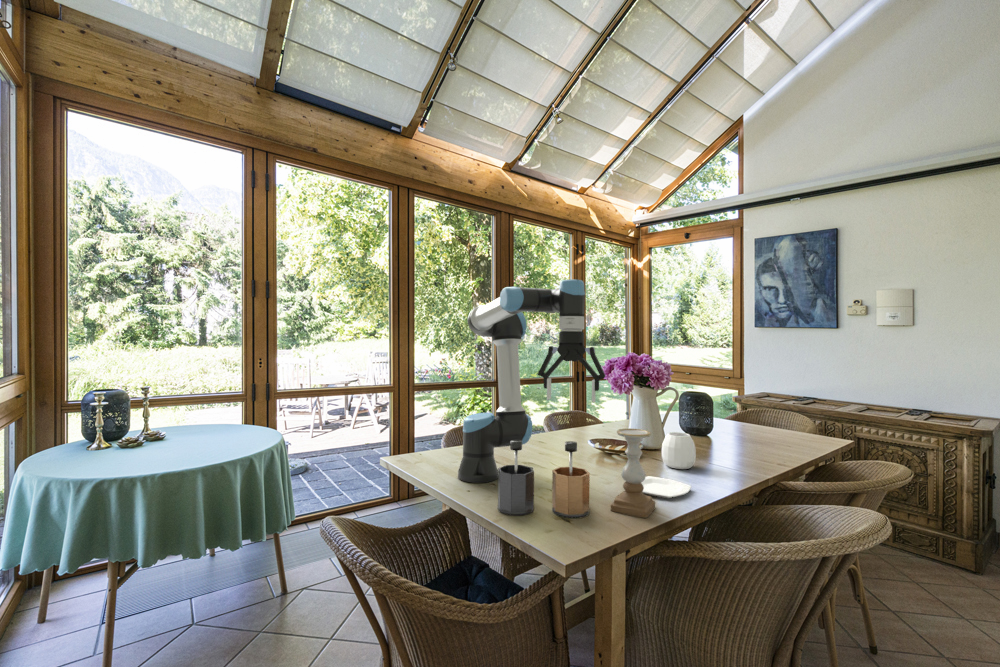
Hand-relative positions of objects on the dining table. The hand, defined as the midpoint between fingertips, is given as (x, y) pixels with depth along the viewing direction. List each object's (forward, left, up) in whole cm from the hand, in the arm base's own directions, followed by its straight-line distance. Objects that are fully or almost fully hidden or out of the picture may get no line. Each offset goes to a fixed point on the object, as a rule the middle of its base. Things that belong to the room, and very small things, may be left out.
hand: (570, 400), depth 141 cm
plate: (+14, +37, -34) cm, 52 cm away
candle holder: (+14, +14, -34) cm, 39 cm away
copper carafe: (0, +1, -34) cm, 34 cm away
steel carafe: (-14, -8, -34) cm, 37 cm away
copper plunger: (0, 0, -31) cm, 31 cm away
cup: (+10, +71, -34) cm, 79 cm away
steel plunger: (-14, -9, -31) cm, 35 cm away
